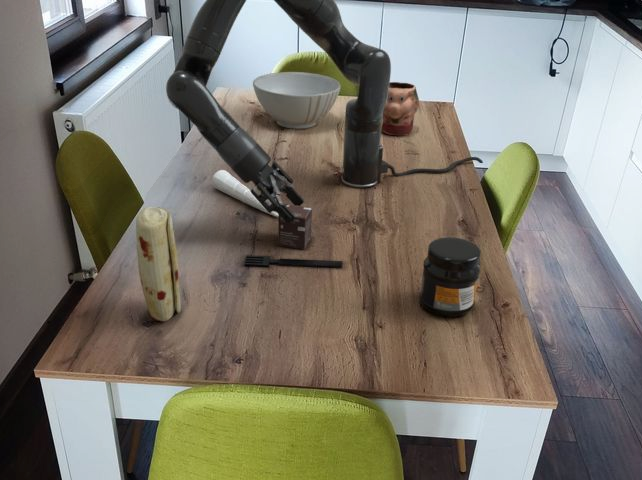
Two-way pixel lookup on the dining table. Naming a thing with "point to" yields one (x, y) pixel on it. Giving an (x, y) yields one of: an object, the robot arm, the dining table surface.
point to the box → (295, 228)
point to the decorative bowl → (296, 97)
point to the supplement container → (450, 276)
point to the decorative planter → (400, 108)
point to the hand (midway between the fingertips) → (296, 212)
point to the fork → (289, 262)
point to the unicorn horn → (237, 190)
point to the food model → (158, 262)
